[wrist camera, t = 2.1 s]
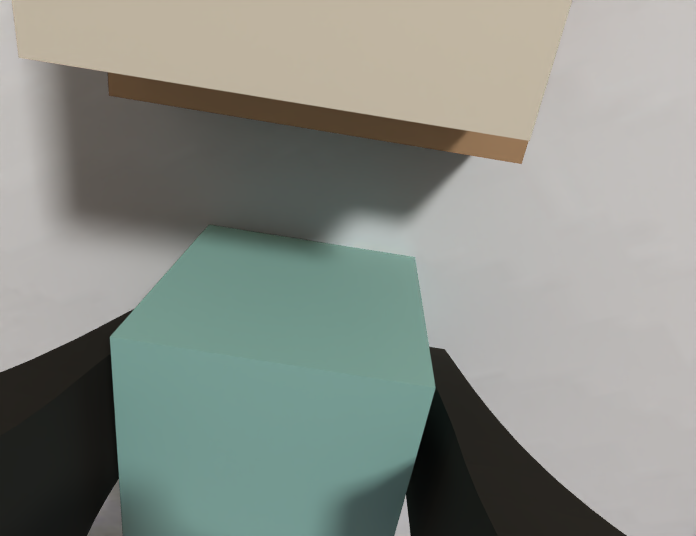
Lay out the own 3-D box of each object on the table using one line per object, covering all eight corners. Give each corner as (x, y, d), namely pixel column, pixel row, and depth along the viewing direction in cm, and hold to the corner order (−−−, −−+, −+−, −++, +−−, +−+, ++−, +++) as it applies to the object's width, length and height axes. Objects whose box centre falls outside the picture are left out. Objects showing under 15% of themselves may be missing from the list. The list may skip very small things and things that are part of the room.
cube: (378, 414, 14) (378, 591, 10) (204, 387, 14) (123, 552, 10) (414, 256, 12) (435, 388, 8) (209, 223, 12) (109, 336, 8)
